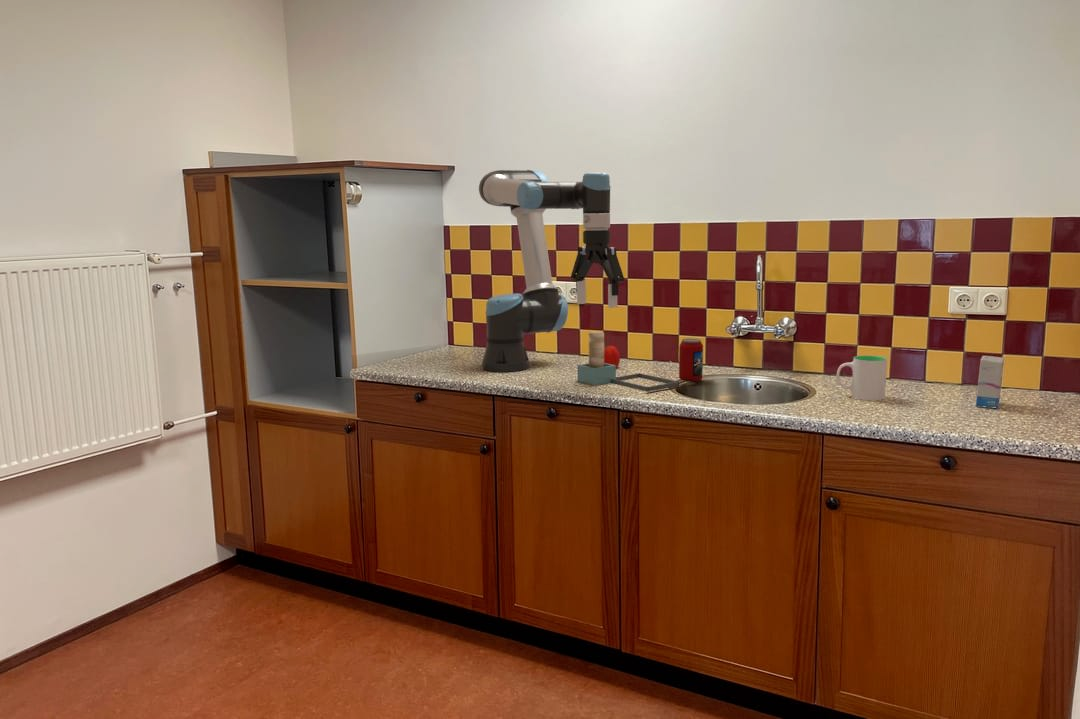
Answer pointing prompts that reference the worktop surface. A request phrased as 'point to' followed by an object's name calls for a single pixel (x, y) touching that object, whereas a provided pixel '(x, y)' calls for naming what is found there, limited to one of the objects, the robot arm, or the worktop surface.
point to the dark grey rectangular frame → (668, 384)
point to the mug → (867, 377)
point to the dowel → (596, 349)
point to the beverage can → (691, 360)
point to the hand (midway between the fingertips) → (596, 305)
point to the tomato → (611, 356)
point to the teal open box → (596, 374)
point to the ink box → (989, 381)
